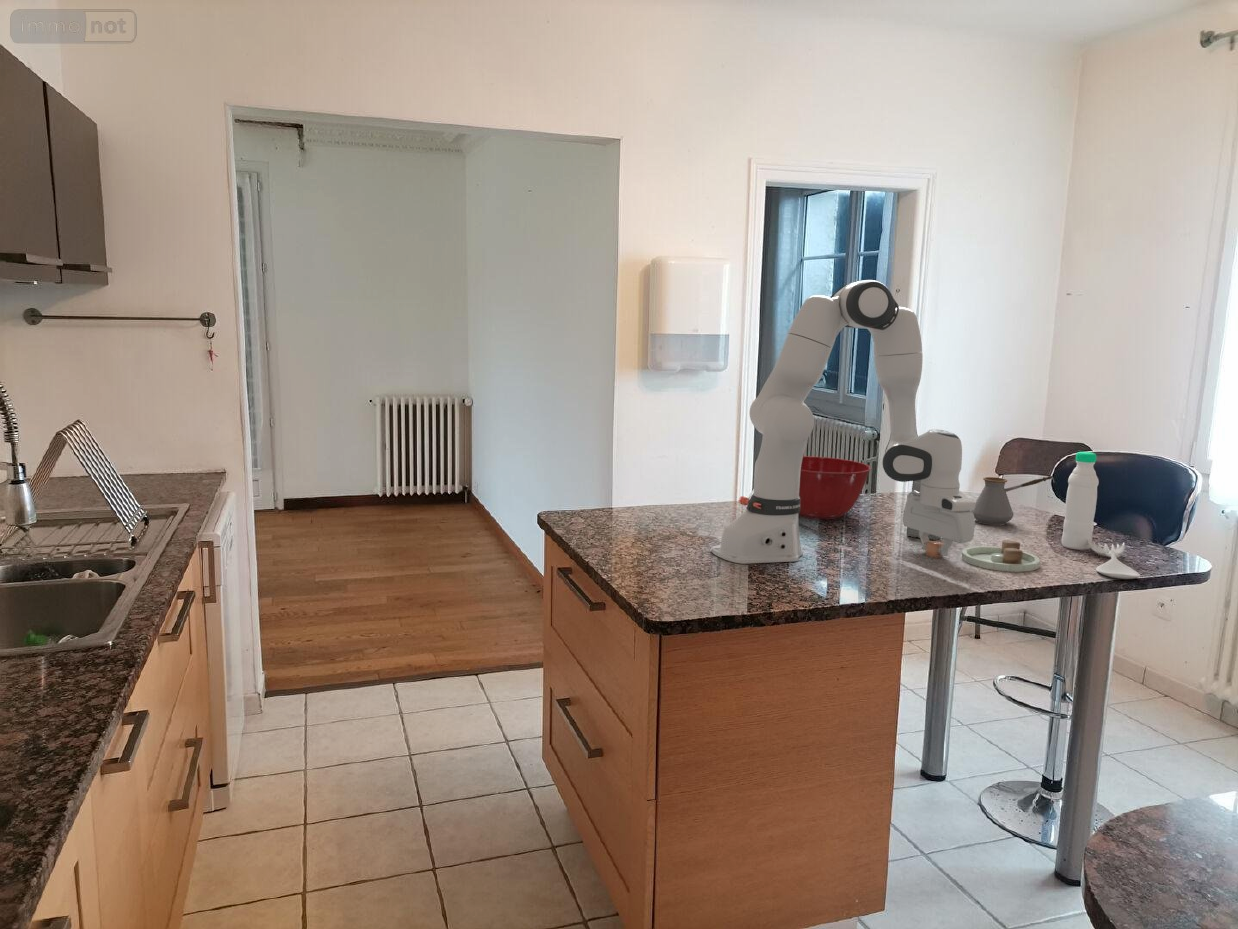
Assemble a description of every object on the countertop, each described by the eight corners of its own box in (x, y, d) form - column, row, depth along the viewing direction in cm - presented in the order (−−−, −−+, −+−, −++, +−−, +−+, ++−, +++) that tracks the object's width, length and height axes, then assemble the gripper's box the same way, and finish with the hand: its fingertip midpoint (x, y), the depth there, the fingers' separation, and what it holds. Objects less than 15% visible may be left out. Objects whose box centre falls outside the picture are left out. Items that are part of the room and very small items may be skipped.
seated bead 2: (1012, 570, 209) (1014, 553, 209) (998, 565, 213) (1000, 549, 212) (1024, 568, 211) (1026, 551, 210) (1010, 563, 215) (1012, 547, 214)
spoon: (1124, 554, 230) (1125, 541, 230) (1143, 587, 201) (1144, 572, 200) (1084, 549, 234) (1086, 536, 233) (1097, 582, 204) (1099, 567, 204)
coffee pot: (970, 524, 260) (975, 473, 257) (969, 516, 270) (973, 467, 268) (1052, 532, 253) (1058, 479, 250) (1047, 523, 264) (1052, 472, 261)
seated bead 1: (1010, 561, 217) (1011, 545, 216) (997, 557, 220) (998, 541, 220) (1022, 559, 219) (1023, 543, 218) (1008, 555, 222) (1010, 539, 221)
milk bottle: (1087, 545, 239) (1098, 451, 235) (1093, 551, 232) (1104, 455, 228) (1058, 542, 241) (1068, 449, 236) (1063, 549, 234) (1074, 453, 230)
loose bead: (933, 562, 218) (934, 545, 218) (921, 557, 222) (922, 542, 221) (946, 560, 220) (947, 544, 219) (934, 556, 224) (935, 540, 223)
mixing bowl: (861, 507, 280) (864, 457, 278) (873, 528, 252) (877, 473, 250) (768, 502, 284) (771, 453, 281) (770, 522, 256) (773, 468, 254)
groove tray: (1001, 578, 206) (1002, 568, 205) (946, 559, 221) (946, 549, 220) (1054, 571, 213) (1055, 561, 212) (997, 553, 228) (997, 543, 227)
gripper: (898, 489, 226) (894, 543, 229) (960, 506, 208) (955, 564, 210) (918, 488, 229) (913, 541, 231) (981, 504, 211) (975, 562, 213)
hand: (934, 552), depth 221 cm, fingers closed on loose bead, 4 cm apart
